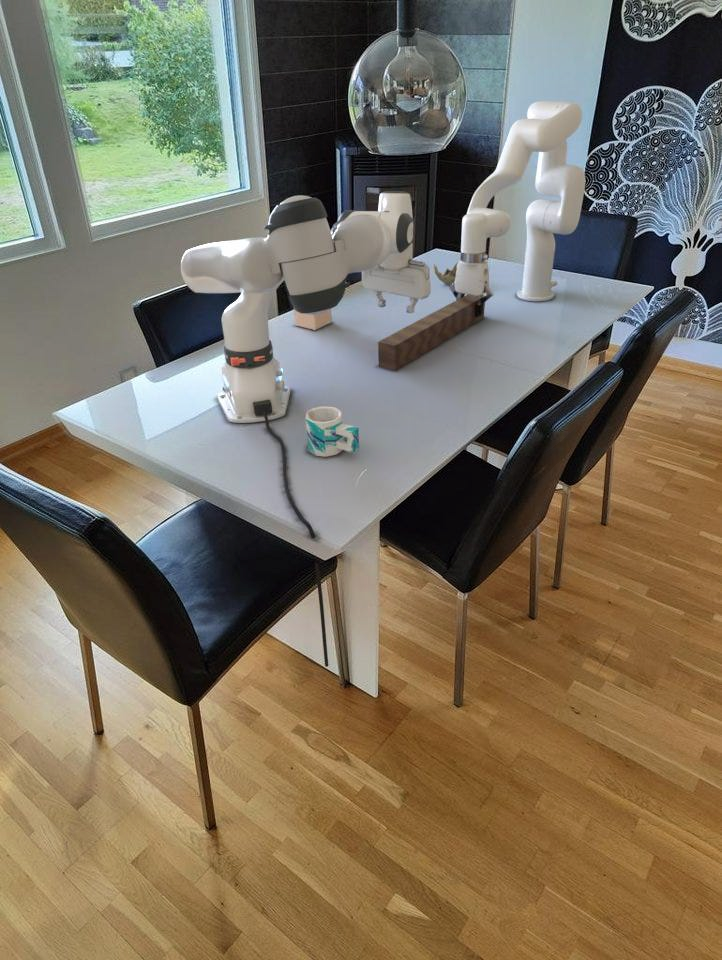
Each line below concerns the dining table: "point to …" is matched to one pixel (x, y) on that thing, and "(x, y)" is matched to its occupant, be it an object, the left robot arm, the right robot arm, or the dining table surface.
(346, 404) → the dining table surface
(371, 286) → the left robot arm
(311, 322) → the soap dispenser
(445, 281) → the jawbone
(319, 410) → the mug
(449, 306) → the bar
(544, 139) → the right robot arm
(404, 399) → the dining table surface
